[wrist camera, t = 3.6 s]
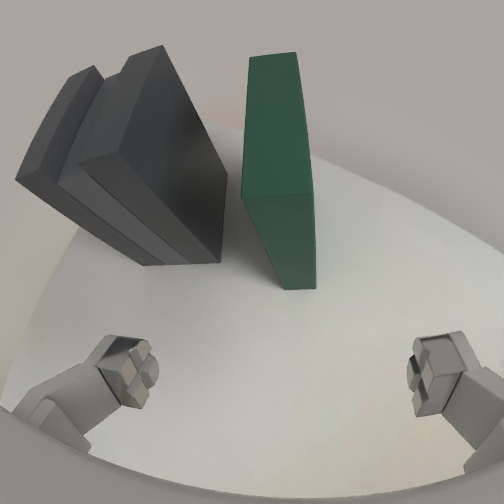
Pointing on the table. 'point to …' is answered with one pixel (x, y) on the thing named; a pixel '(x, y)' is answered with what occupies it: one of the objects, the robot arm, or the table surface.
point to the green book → (280, 168)
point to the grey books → (132, 163)
